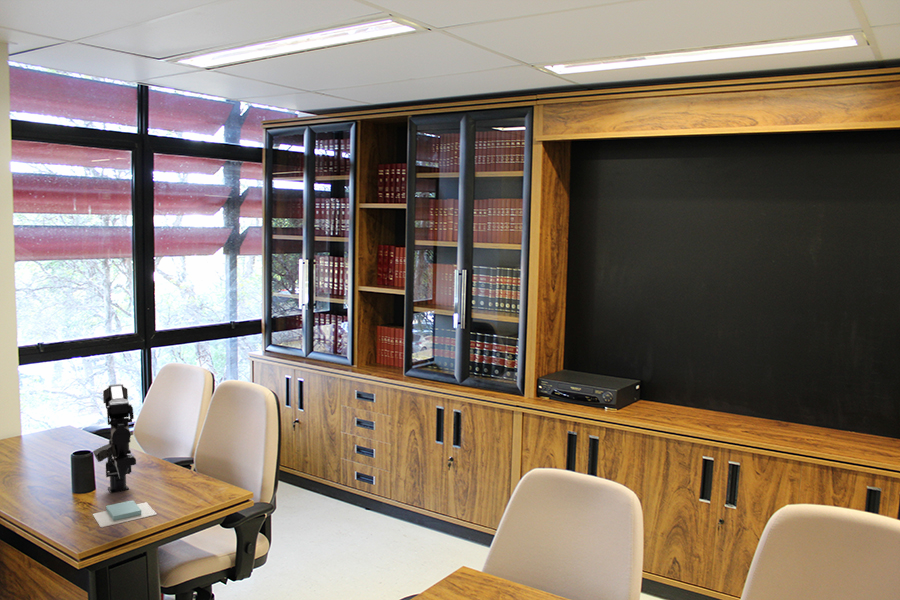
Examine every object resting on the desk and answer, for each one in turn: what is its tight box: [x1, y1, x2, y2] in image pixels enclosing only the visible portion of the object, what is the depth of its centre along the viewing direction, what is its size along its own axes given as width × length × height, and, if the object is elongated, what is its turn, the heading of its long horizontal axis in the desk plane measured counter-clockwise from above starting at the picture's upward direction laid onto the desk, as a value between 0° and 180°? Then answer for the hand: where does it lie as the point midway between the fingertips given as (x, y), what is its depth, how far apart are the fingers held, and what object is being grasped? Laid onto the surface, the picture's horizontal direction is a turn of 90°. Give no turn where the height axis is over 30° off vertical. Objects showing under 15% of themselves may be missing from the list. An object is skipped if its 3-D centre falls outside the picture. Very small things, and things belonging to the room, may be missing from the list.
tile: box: [105, 500, 141, 520], centre depth 237 cm, size 2×9×12 cm
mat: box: [92, 501, 158, 528], centre depth 236 cm, size 14×18×1 cm
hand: (121, 478), depth 238 cm, fingers closed
